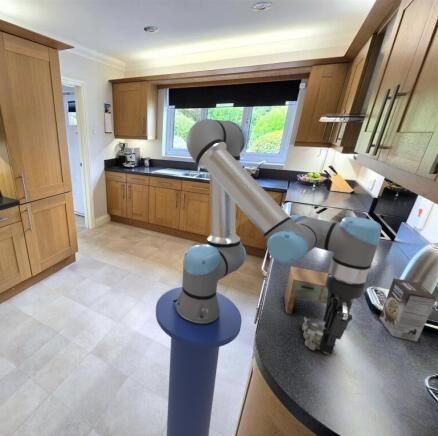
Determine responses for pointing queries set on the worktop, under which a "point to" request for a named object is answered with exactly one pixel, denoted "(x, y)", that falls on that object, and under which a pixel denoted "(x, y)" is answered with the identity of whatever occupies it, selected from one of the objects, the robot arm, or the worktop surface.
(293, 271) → the drawer unit
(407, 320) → the coffee box
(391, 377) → the worktop surface
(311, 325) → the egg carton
